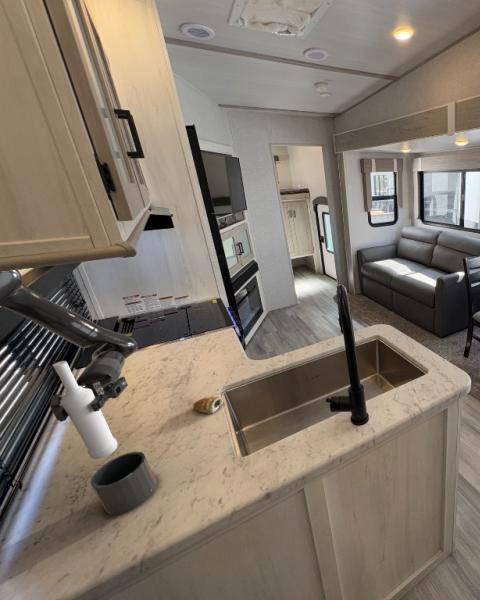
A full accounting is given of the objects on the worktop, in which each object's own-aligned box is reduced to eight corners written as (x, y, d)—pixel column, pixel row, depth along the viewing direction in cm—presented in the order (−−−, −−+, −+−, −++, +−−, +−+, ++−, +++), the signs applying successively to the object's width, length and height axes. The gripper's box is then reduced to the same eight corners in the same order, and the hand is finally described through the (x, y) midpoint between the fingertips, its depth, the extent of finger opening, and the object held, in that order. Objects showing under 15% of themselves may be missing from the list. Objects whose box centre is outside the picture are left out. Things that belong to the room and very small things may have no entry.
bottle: (90, 451, 75) (43, 363, 67) (118, 439, 79) (76, 354, 70) (90, 463, 72) (40, 373, 63) (119, 450, 75) (75, 362, 66)
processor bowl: (99, 523, 72) (83, 495, 69) (111, 489, 80) (98, 463, 77) (153, 500, 76) (140, 473, 73) (159, 470, 85) (148, 445, 82)
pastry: (189, 413, 107) (186, 404, 106) (203, 400, 113) (200, 392, 112) (213, 414, 105) (210, 405, 104) (226, 401, 112) (223, 393, 110)
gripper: (57, 373, 78) (24, 412, 64) (129, 356, 84) (113, 387, 70) (70, 397, 80) (40, 440, 66) (138, 379, 87) (125, 414, 73)
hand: (78, 412), depth 68 cm, fingers closed on bottle, 5 cm apart
